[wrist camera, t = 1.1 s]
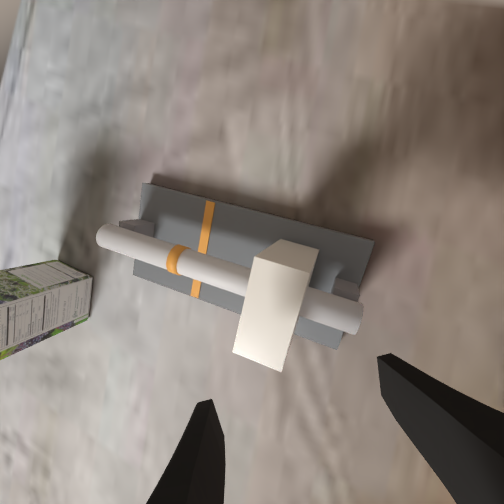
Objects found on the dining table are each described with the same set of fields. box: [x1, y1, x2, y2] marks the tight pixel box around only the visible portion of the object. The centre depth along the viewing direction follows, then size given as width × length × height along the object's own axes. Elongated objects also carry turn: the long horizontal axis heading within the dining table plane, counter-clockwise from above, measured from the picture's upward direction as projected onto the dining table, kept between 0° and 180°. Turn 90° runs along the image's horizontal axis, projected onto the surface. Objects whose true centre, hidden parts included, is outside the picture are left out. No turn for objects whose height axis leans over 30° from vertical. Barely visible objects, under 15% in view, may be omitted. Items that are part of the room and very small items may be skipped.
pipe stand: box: [96, 183, 375, 350], centre depth 20 cm, size 20×9×6 cm, turn 78°
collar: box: [233, 239, 319, 372], centre depth 17 cm, size 3×6×7 cm, turn 168°
